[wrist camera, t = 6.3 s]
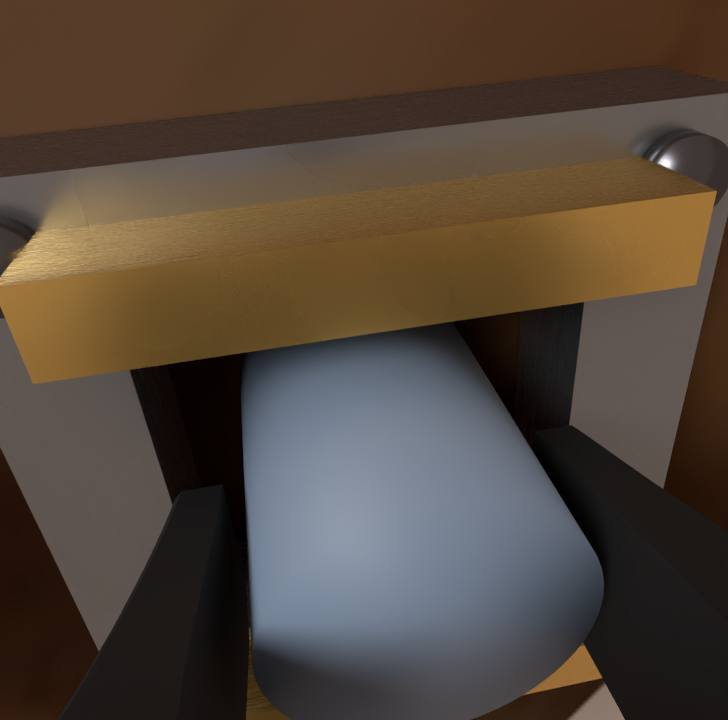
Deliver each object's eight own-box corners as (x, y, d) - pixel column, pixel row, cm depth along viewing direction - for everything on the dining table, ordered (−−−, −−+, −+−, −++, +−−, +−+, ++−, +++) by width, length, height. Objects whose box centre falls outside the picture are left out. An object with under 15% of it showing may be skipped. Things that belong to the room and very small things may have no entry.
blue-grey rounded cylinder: (215, 293, 11) (210, 558, 6) (454, 249, 12) (622, 467, 7) (264, 473, 14) (287, 767, 9) (461, 432, 14) (588, 690, 9)
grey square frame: (-47, 143, 9) (-202, 242, 6) (657, 65, 11) (853, 113, 7) (144, 618, 15) (119, 803, 12) (584, 534, 16) (674, 681, 13)
